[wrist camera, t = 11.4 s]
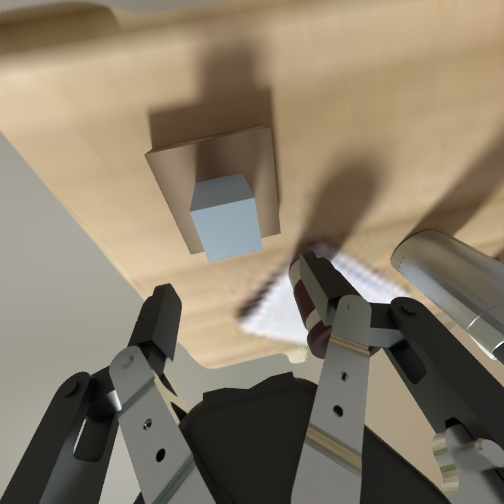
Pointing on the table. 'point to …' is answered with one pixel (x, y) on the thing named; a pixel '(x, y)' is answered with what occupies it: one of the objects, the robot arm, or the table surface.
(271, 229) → the base
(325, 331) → the coffee cup
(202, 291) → the table surface
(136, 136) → the table surface
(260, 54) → the table surface
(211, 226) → the block
